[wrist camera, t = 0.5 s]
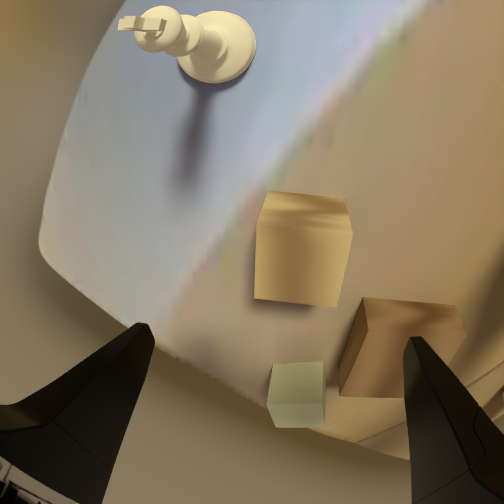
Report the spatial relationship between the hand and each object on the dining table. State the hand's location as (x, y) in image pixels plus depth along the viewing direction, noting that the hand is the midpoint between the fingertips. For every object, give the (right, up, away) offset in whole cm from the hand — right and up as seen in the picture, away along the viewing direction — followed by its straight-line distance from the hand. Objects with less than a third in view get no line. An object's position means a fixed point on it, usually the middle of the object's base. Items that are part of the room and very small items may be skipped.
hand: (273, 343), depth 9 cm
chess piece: (-3, +15, +6) cm, 17 cm away
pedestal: (+12, -5, +15) cm, 20 cm away
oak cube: (+3, +5, +11) cm, 12 cm away
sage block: (+4, -10, +20) cm, 23 cm away
